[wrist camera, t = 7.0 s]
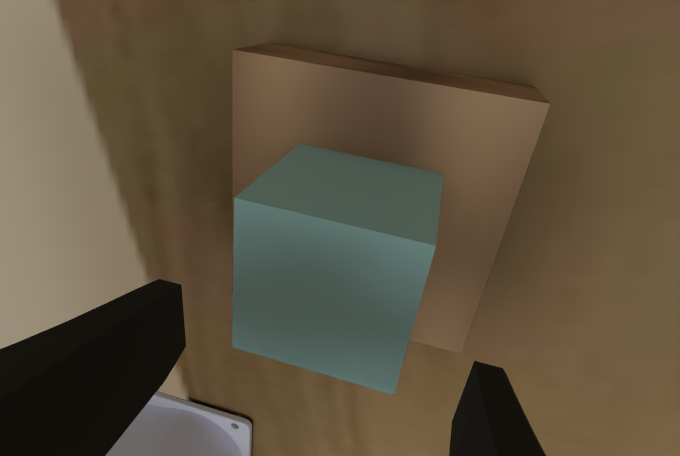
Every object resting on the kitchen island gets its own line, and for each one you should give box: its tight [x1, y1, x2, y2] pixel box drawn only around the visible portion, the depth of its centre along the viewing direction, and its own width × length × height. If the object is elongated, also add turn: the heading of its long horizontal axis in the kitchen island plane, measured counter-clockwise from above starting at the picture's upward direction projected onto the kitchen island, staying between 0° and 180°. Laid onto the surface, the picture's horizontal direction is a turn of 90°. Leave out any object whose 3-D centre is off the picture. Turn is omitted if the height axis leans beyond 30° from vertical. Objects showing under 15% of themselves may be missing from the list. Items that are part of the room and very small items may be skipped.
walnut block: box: [232, 43, 550, 354], centre depth 17 cm, size 10×10×4 cm
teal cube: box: [232, 144, 444, 395], centre depth 14 cm, size 5×5×5 cm
